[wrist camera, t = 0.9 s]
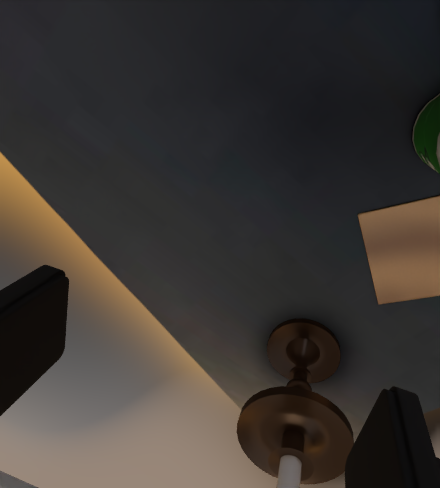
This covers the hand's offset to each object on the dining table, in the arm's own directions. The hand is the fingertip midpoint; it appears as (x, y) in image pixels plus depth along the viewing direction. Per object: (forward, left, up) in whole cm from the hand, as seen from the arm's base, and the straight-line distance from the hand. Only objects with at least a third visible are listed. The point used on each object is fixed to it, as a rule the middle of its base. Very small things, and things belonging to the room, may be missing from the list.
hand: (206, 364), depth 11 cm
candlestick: (+23, -5, -34) cm, 41 cm away
